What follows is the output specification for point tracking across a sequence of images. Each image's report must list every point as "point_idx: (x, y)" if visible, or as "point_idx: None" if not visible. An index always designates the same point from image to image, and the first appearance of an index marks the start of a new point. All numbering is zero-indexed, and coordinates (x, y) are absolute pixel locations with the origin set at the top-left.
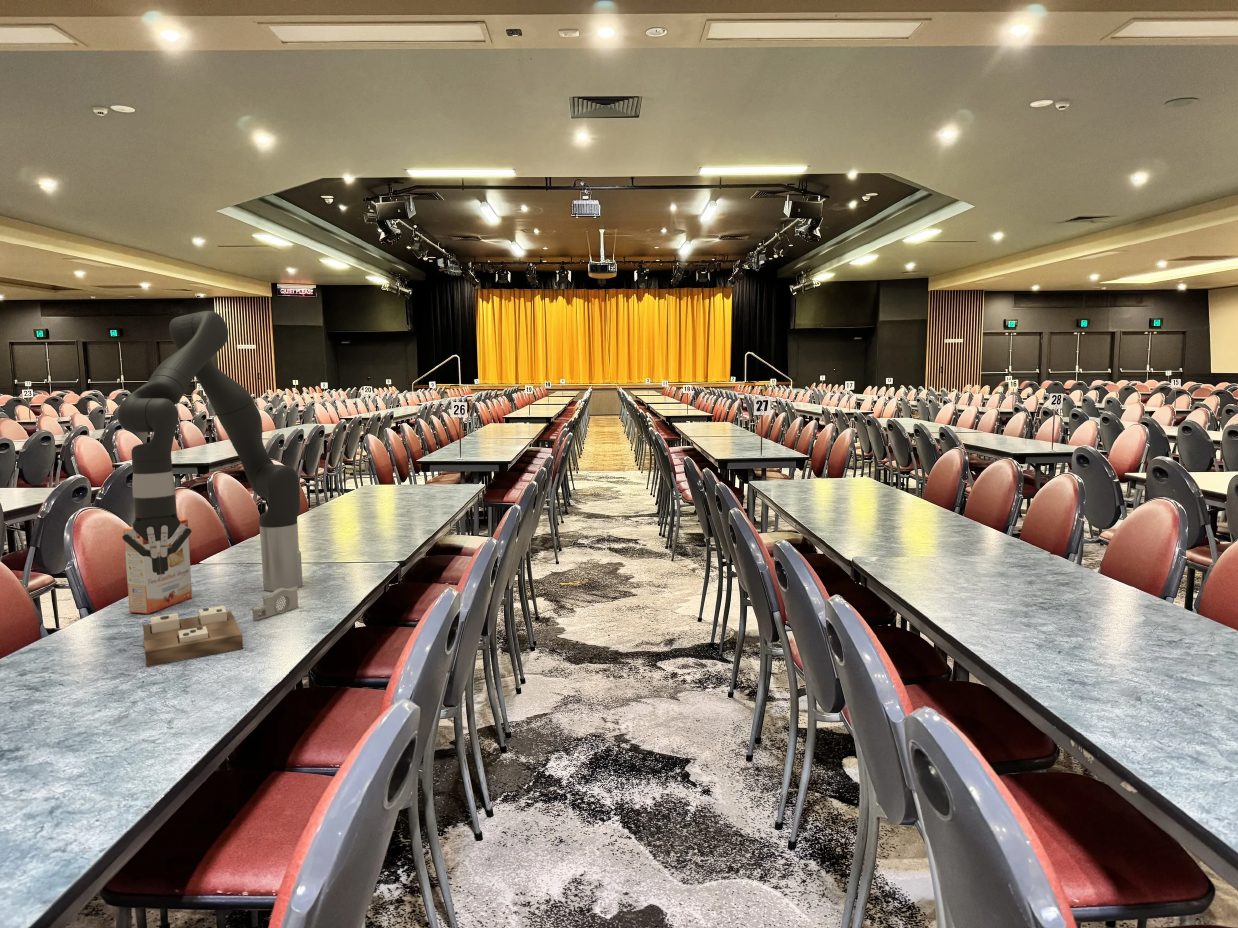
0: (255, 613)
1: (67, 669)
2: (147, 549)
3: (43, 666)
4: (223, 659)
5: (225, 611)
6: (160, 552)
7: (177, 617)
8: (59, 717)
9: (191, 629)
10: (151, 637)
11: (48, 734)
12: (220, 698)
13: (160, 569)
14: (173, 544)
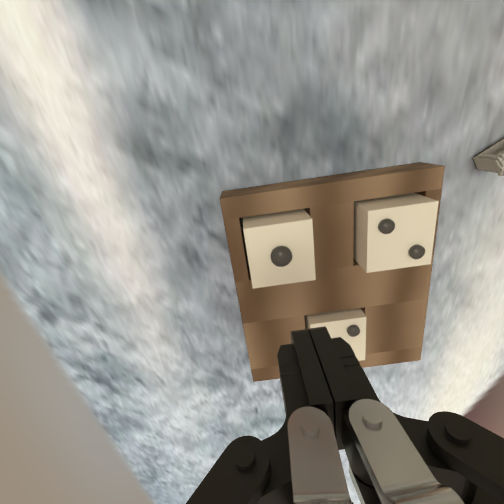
0: (493, 170)
1: (120, 322)
2: (274, 490)
3: (65, 289)
4: (366, 374)
5: (428, 262)
6: (353, 452)
7: (311, 263)
8: (179, 468)
9: (336, 326)
10: (254, 308)
11: (182, 495)
12: (346, 478)
13: (312, 342)
14: (486, 482)
